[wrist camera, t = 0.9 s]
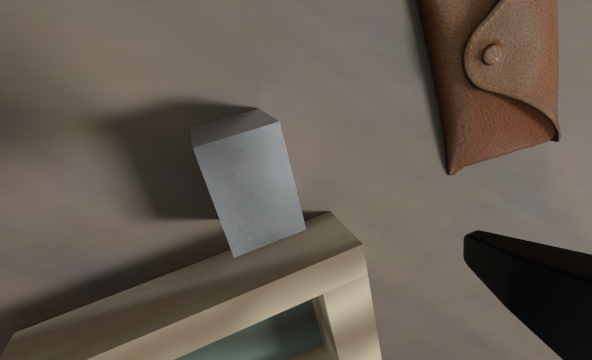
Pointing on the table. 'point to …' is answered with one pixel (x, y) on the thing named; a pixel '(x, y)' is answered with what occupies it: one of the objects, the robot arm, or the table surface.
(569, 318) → the robot arm
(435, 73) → the sunglasses case
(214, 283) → the well
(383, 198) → the table surface
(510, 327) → the table surface
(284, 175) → the grey rectangular block
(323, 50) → the table surface
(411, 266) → the table surface
